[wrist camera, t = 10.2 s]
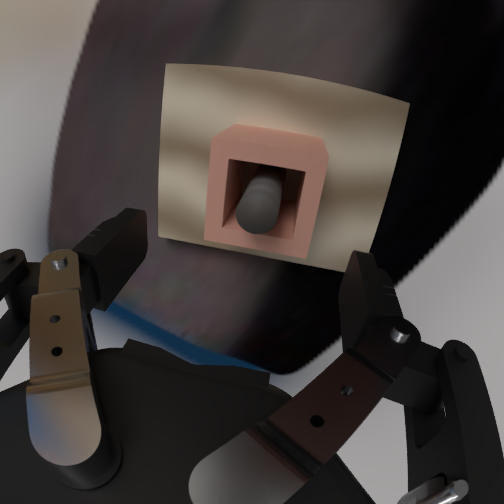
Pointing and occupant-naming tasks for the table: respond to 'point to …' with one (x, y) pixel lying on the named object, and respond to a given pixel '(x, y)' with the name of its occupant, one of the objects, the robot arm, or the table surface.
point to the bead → (290, 213)
